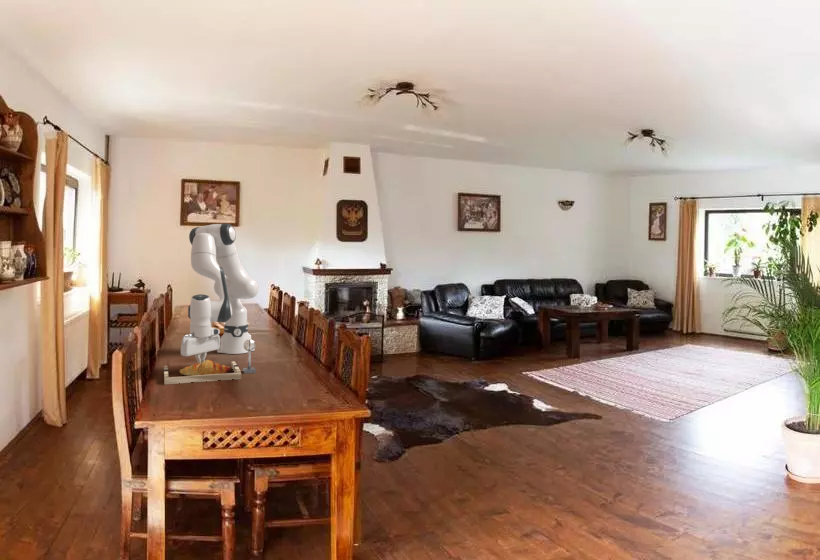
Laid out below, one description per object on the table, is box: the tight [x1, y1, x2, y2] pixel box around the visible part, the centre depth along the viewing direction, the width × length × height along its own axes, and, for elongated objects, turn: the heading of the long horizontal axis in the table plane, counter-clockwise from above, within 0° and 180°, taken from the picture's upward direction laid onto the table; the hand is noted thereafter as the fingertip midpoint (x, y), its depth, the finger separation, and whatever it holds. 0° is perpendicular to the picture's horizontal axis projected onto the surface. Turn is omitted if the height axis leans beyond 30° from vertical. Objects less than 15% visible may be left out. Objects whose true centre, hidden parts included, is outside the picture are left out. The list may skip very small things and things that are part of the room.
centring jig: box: [163, 361, 242, 385], centre depth 249 cm, size 22×30×4 cm
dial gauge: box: [242, 339, 257, 374], centre depth 258 cm, size 5×5×14 cm
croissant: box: [179, 359, 232, 376], centre depth 252 cm, size 21×10×8 cm
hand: (200, 362), depth 255 cm, fingers closed
